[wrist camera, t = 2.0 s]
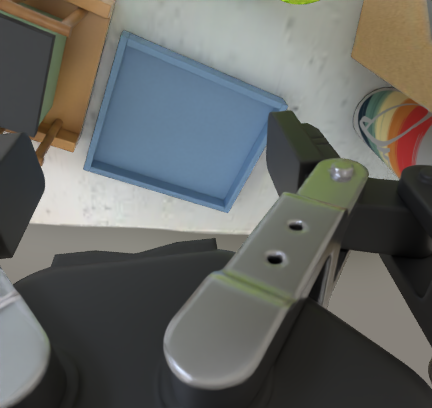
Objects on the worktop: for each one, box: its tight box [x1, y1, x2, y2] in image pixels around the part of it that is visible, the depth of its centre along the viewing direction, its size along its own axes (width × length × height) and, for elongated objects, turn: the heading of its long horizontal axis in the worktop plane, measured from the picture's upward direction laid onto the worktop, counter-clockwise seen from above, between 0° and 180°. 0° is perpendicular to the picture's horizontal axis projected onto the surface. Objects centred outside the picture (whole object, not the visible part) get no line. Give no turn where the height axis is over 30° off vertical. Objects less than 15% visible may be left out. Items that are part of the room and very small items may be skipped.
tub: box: [0, 3, 67, 138], centre depth 28 cm, size 6×8×6 cm
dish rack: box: [0, 0, 116, 166], centre depth 28 cm, size 11×13×9 cm
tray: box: [83, 30, 288, 213], centre depth 36 cm, size 16×13×2 cm
